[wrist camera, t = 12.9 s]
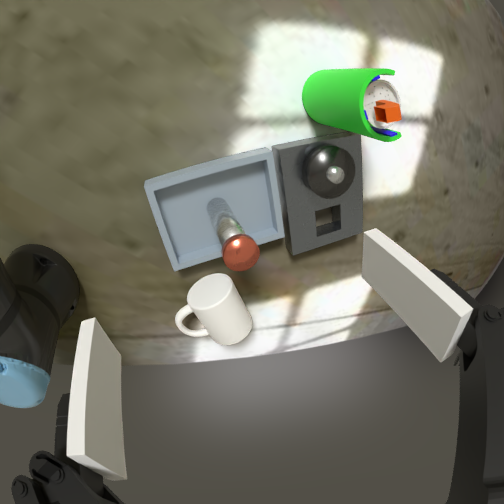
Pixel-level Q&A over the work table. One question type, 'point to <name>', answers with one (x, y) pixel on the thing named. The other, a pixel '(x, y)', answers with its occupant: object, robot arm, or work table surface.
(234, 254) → the pin
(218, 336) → the mug
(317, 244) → the grey block with dome
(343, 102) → the green-shelled ribbed roller
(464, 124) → the work table surface
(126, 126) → the work table surface
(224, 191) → the tray
